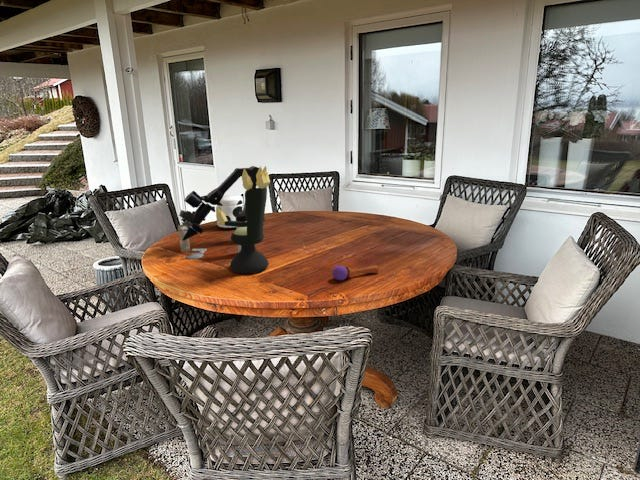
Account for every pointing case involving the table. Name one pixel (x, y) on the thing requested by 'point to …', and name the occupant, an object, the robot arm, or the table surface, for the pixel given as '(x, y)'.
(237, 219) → the travel mug
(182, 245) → the ringed post
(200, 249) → the bent rod
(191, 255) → the coaster
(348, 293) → the table surface
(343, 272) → the kendama
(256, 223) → the candelabra
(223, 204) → the milk container
